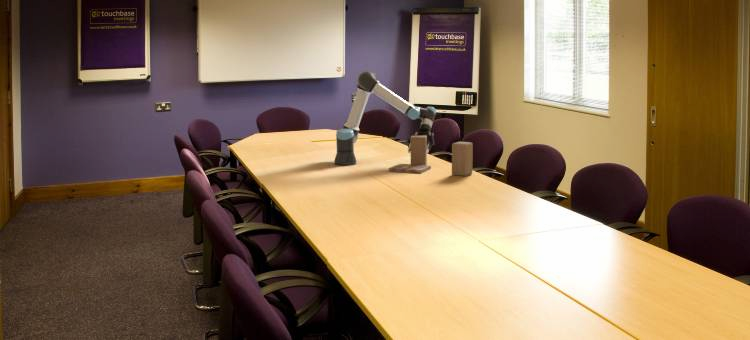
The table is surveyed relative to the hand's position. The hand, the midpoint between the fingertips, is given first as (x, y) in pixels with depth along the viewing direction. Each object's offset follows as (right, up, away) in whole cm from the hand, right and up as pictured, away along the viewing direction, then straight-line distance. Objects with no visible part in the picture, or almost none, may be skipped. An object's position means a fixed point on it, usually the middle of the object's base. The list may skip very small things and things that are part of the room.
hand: (417, 152), depth 466 cm
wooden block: (+1, -9, +4) cm, 10 cm away
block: (+26, -15, -28) cm, 41 cm away
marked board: (-5, -12, -10) cm, 16 cm away
